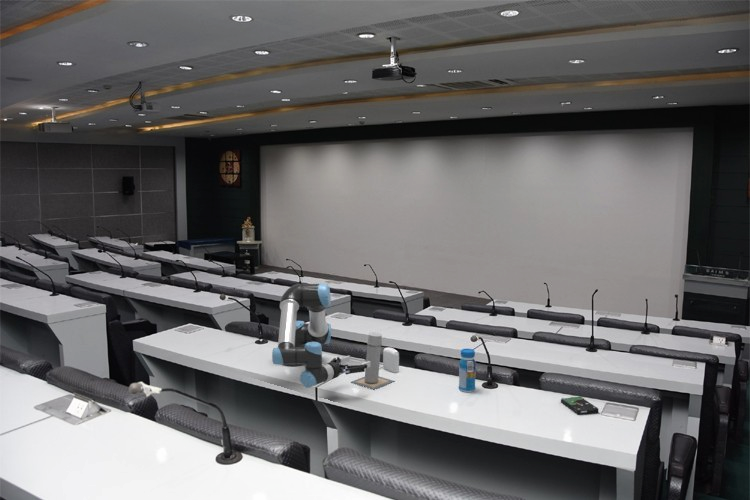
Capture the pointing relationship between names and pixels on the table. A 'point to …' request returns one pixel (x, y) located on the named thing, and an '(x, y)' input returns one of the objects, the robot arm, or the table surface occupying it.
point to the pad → (373, 386)
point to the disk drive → (579, 405)
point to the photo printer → (391, 359)
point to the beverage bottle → (467, 370)
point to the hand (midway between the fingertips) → (359, 361)
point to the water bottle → (373, 357)
